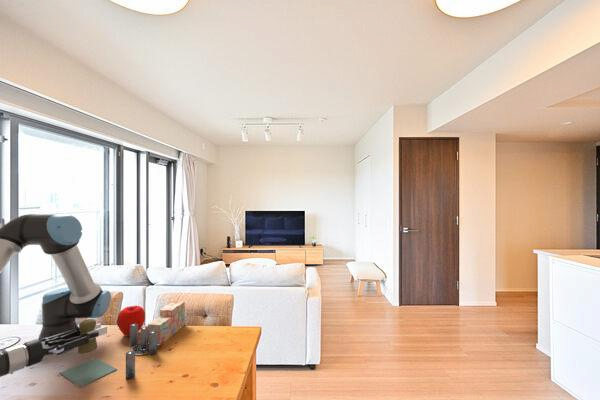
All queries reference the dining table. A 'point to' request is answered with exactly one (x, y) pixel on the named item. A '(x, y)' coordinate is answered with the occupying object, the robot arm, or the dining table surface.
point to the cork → (86, 327)
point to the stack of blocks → (168, 321)
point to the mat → (87, 372)
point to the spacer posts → (144, 345)
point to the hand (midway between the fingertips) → (103, 328)
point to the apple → (130, 318)
